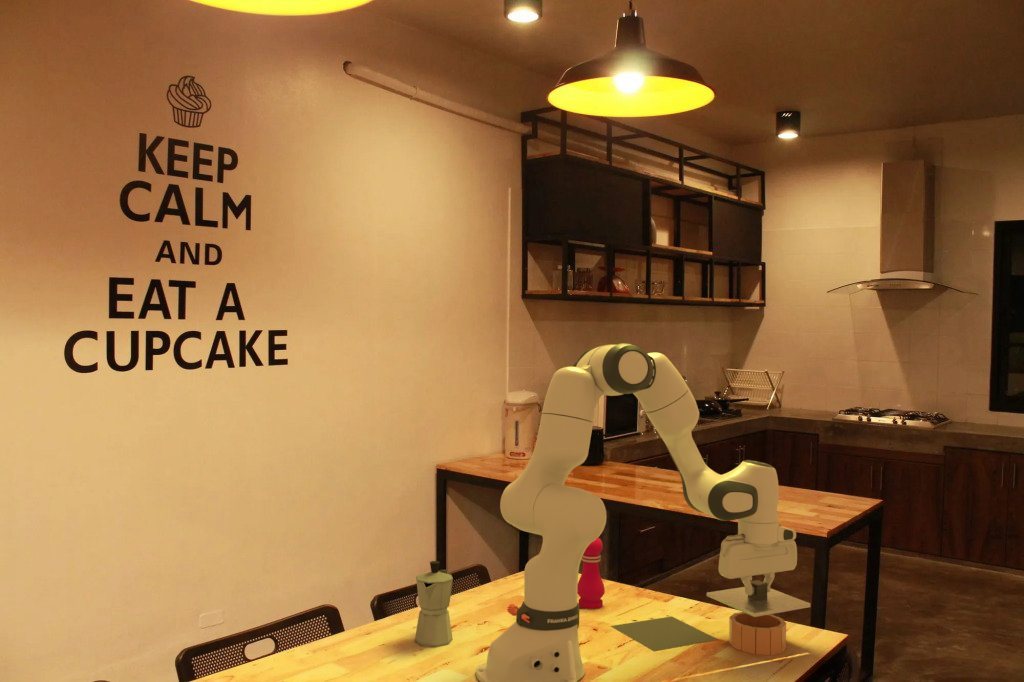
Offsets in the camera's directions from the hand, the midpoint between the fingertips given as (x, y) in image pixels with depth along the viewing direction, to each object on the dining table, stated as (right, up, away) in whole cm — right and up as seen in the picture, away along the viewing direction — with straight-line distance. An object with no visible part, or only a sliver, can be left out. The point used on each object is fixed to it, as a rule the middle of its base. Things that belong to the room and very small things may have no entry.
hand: (757, 593), depth 190 cm
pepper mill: (-35, -12, +27) cm, 46 cm away
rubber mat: (-20, -12, +7) cm, 24 cm away
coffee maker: (-73, -12, +3) cm, 74 cm away
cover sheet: (0, -2, 0) cm, 2 cm away
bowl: (0, -12, 0) cm, 12 cm away
